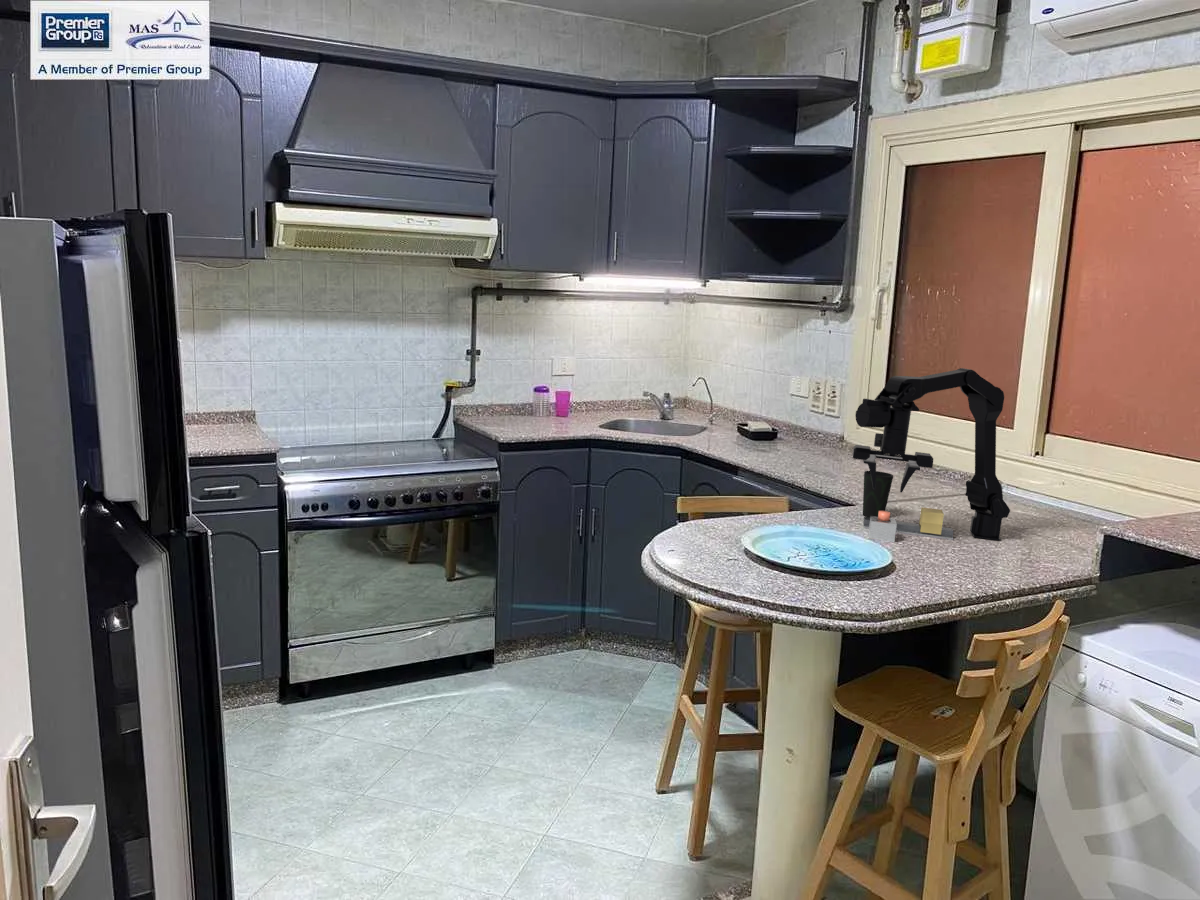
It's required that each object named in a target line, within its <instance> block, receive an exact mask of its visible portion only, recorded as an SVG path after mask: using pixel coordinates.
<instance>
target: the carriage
mask: <svg viewBox="0 0 1200 900" xmlns="http://www.w3.org/2000/svg"><path fill="white" fill-rule="evenodd" d="M919 515H920V516H919V523H918V524H920V525H921V529H920V532H925V533H932V534H940V535H941V530H942V527H943V521H944V516H945V514H944V512H943V510H942V509H938V508H930V507H922V506H921V509H920V514H919Z"/></svg>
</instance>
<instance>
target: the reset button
mask: <svg viewBox="0 0 1200 900" xmlns="http://www.w3.org/2000/svg"><path fill="white" fill-rule="evenodd" d="M890 519H891V512H890V511H887V510H885V511H879V513H878V520H881V521H889V520H890Z"/></svg>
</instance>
